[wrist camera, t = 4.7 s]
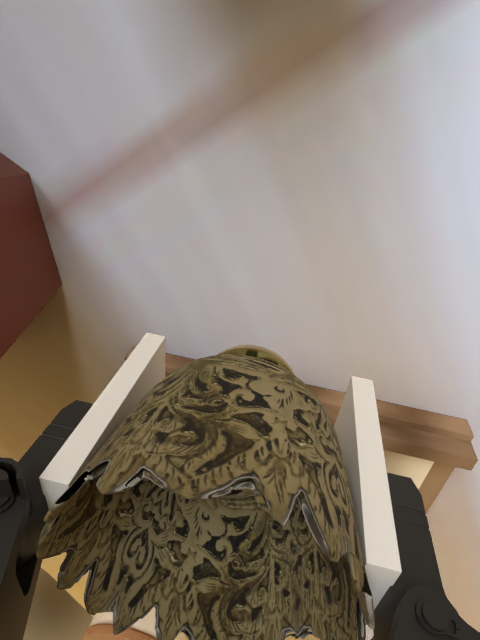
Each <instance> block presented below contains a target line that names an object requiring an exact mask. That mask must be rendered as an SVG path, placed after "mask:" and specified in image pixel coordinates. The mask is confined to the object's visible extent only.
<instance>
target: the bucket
mask: <svg viewBox="0 0 480 640" xmlns="http://www.w3.org/2000/svg"><path fill="white" fill-rule="evenodd" d="M61 285H62V283H61V279H60V276H59V273H58V269H57V266H56V263H55V259H54V256H53V253H52V249H51V246H50V242H49V239H48V236H47V232H46V229H45V226H44V222H43V219H42V216H41V212H40V209H39V206H38V202H37V199H36V195H35V192H34V189H33V185H32V182H31V179H30V175H29V173H28V172H26V171H25V170H24V169H22V168H21V167H19V166H18V165H17V164H15V163H14V162H13V161H11V160H10V159H9V158H7V157H6V156H5V155H3V154H2V153H0V359H1V357H2V356H3V355H4V354H5V353H6V351H7V350H8V349H9V348H10V346H11V345H12V344H13V343H14V342H15V340H16V339H17V338H18V337H19V336H20V334H21V333H22V332H23V331H24V330H25V328H26V327H27V326H28V325H29V323H30V322H31V321H32V320H33V319H34V317H35V316H36V315H37V314H38V313H39V311H40V310H41V309H42V308H43V307H44V305H45V304H46V303H47V302H48V300H49V299H50V298H51V297H52V296H53V294H54V293H55V292H56V291H57V290H58V288H59V287H60V286H61Z"/></svg>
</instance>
